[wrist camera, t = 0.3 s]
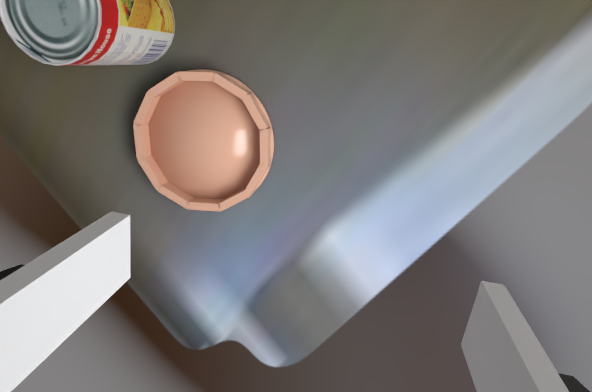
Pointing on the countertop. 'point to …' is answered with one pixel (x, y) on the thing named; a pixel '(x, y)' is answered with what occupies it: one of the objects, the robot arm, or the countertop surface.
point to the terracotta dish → (204, 139)
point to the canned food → (90, 30)
